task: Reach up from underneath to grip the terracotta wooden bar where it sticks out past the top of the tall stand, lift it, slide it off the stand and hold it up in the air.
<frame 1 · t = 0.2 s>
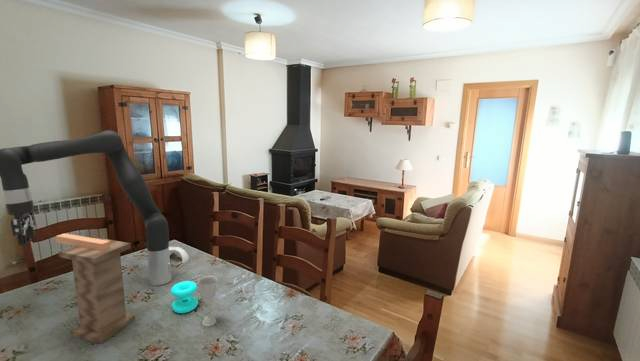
hand: (27, 241, 119), 30 cm above the table, tool pointing down, fingers open, 8 cm apart
stand: (104, 327, 115), on the table
bar: (83, 244, 111), point 32 cm above the table, touching stand
white arch: (170, 258, 175), on the table
cyan spool: (185, 307, 129), on the table
chalice: (209, 322, 120), on the table
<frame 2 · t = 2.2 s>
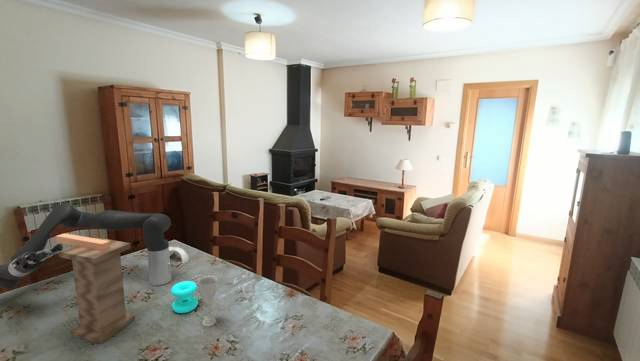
hand: (48, 250, 117), 27 cm above the table, tool pointing upward, fingers open, 8 cm apart
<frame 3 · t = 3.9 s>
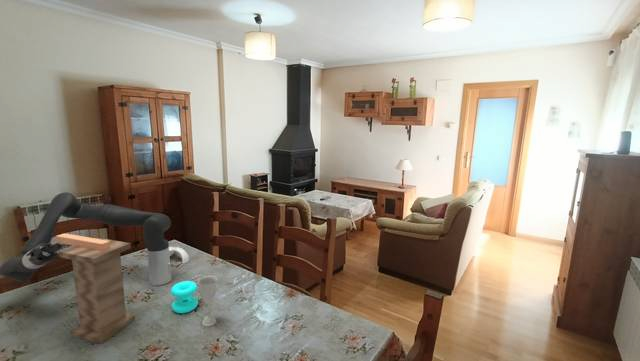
hand: (63, 241, 114), 32 cm above the table, tool pointing upward, fingers open, 8 cm apart
nothing on the table moved.
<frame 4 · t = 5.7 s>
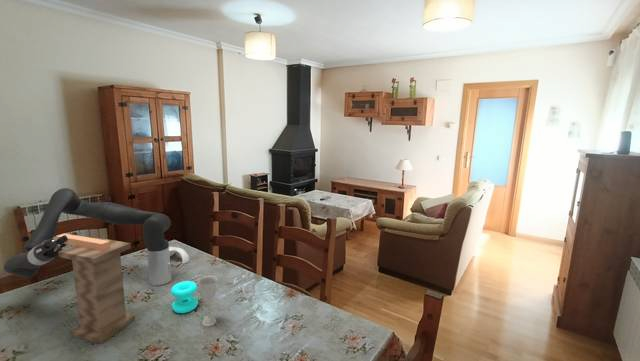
hand: (71, 236, 112), 35 cm above the table, tool pointing upward, fingers closed on bar, 3 cm apart
bar: (83, 245, 111), point 32 cm above the table, touching gripper, stand
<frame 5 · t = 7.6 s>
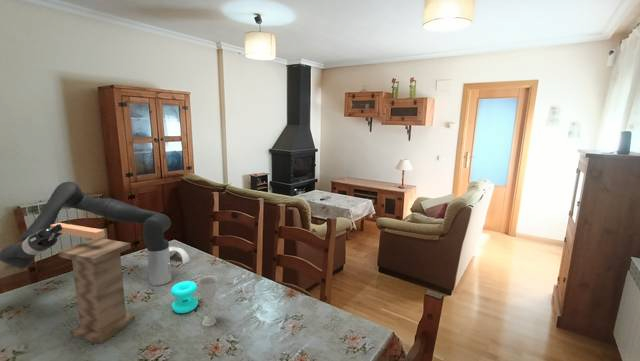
hand: (65, 225, 112), 39 cm above the table, tool pointing upward, fingers closed on bar, 3 cm apart
bar: (77, 234, 111), point 36 cm above the table, touching gripper
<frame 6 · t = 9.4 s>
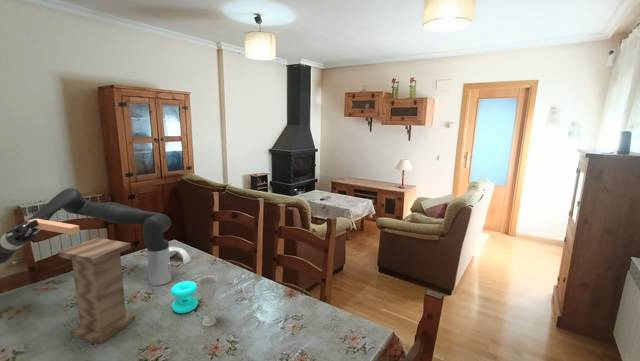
hand: (42, 220, 115), 39 cm above the table, tool pointing upward, fingers closed on bar, 3 cm apart
bar: (53, 229, 114), point 36 cm above the table, touching gripper
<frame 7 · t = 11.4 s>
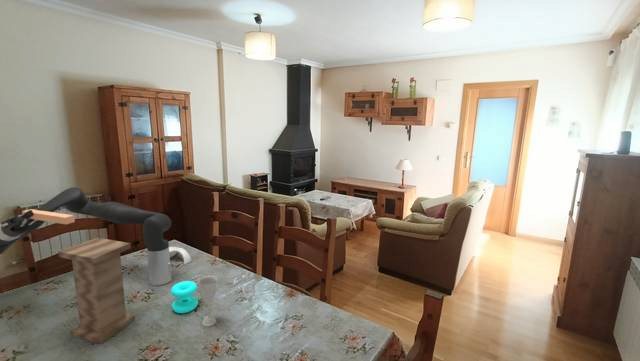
hand: (37, 211, 115), 42 cm above the table, tool pointing upward, fingers closed on bar, 3 cm apart
bar: (48, 219, 114), point 40 cm above the table, touching gripper
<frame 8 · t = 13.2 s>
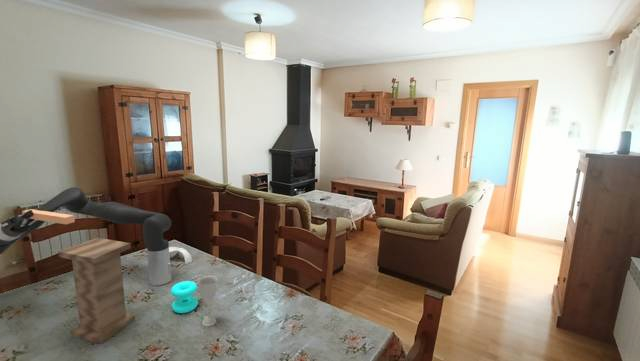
hand: (37, 211, 115), 42 cm above the table, tool pointing upward, fingers closed on bar, 3 cm apart
bar: (48, 219, 114), point 40 cm above the table, touching gripper
at the end: bar touching gripper; bar point 39.7 cm above the table; the gripper is holding bar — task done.
